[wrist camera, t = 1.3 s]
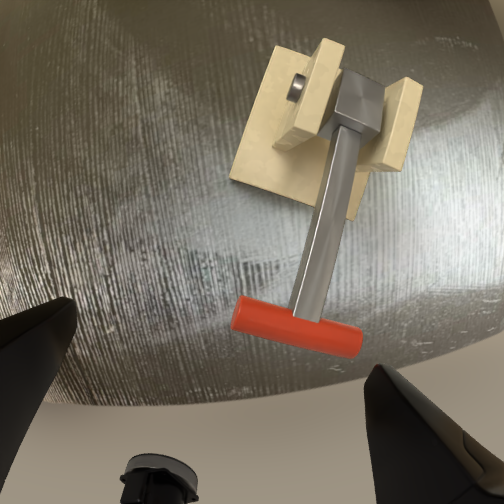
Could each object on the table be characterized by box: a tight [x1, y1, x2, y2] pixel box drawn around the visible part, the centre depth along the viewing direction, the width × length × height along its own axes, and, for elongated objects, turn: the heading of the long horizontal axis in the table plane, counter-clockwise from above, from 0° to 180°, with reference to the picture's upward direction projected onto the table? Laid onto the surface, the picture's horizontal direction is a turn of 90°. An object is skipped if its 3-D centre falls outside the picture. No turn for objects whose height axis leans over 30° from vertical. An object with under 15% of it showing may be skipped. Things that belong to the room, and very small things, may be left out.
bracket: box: [229, 38, 423, 221], centre depth 16 cm, size 10×9×10 cm
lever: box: [231, 67, 385, 359], centre depth 13 cm, size 12×5×2 cm, turn 162°
